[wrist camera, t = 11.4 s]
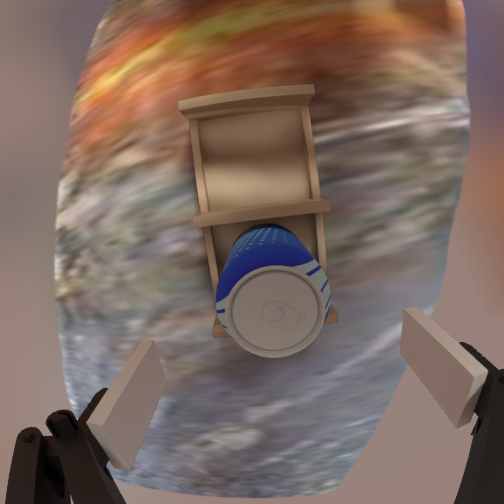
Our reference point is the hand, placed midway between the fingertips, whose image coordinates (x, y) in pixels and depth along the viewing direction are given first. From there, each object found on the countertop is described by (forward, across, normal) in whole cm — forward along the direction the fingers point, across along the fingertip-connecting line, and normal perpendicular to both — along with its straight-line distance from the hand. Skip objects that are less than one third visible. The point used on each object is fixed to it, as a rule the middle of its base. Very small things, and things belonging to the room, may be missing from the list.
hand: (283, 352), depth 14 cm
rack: (+22, 0, +5) cm, 23 cm away
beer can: (+21, 0, 0) cm, 21 cm away
